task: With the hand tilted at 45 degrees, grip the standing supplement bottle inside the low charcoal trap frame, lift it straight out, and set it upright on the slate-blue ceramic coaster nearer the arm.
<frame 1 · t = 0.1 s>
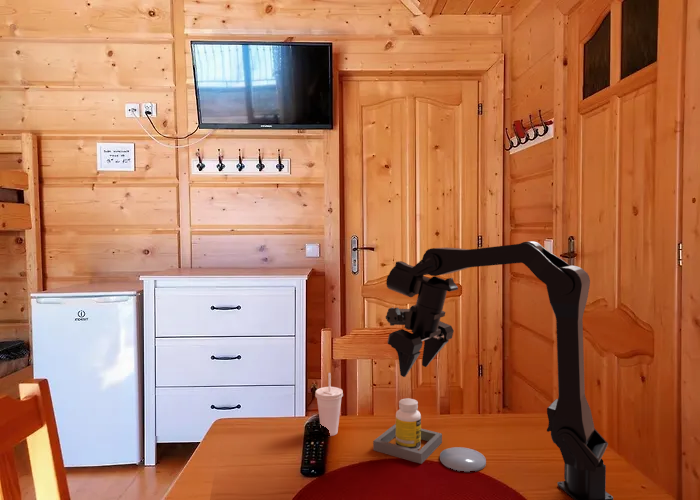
hand: (413, 370, 102), 15 cm above the table, tool pointing down, fingers open, 9 cm apart
smoothie: (329, 433, 106), on the table
trap frame: (408, 446, 99), on the table
coaster: (462, 460, 93), on the table
supplement bottle: (408, 447, 99), resting in trap frame
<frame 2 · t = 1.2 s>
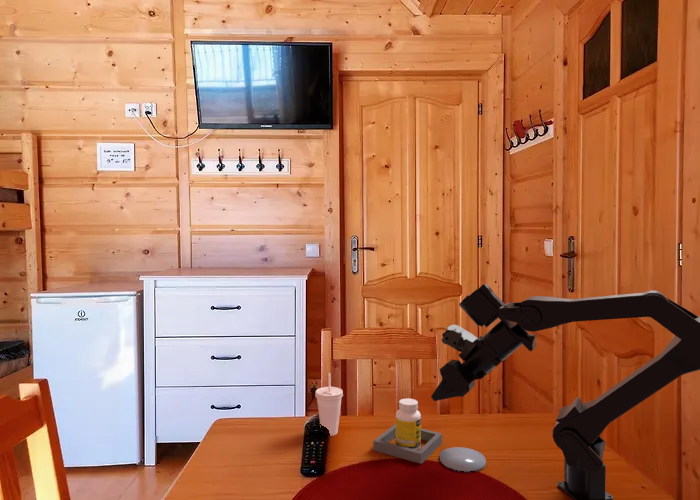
hand: (441, 391, 95), 13 cm above the table, tool tilted 45°, fingers open, 9 cm apart
nothing on the table moved.
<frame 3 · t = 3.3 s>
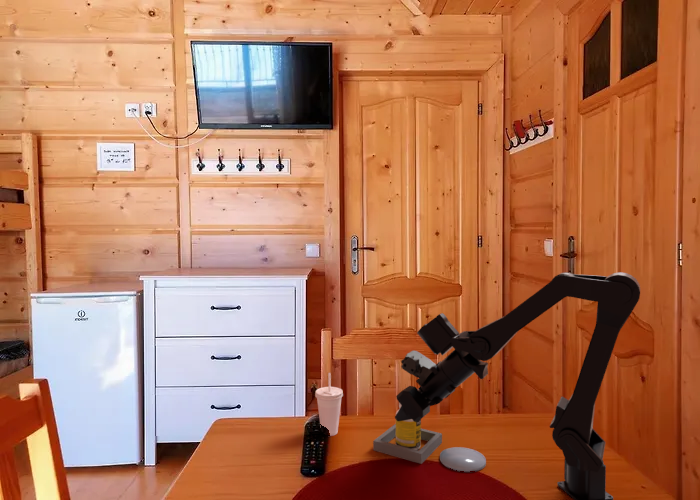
hand: (402, 414, 100), 7 cm above the table, tool tilted 45°, fingers closed on supplement bottle, 5 cm apart
supplement bottle: (408, 447, 99), resting in trap frame, touching gripper
everything else where it was.
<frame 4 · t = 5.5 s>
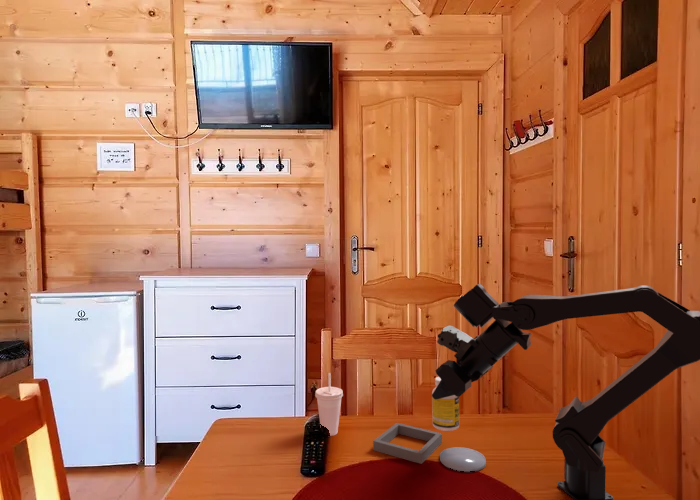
hand: (438, 393, 95), 13 cm above the table, tool tilted 45°, fingers closed on supplement bottle, 5 cm apart
supplement bottle: (446, 427, 94), point 6 cm above the table, touching gripper
everything else where it was.
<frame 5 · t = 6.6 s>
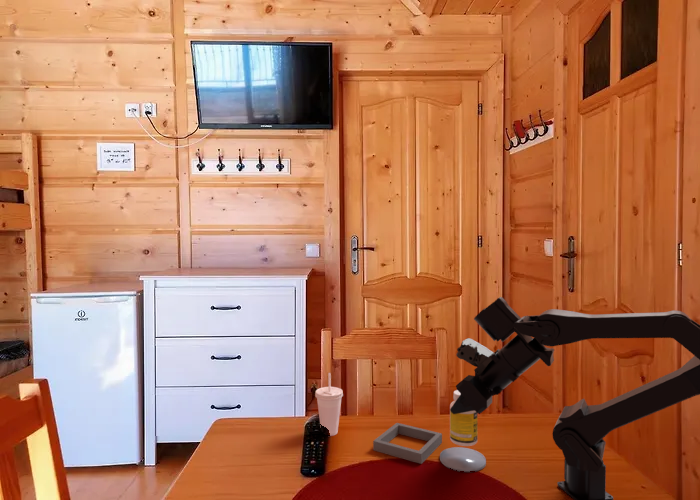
hand: (456, 407, 93), 11 cm above the table, tool tilted 45°, fingers closed on supplement bottle, 5 cm apart
supplement bottle: (463, 441, 92), point 4 cm above the table, touching gripper
everything else where it was.
when the fingers open (8 cm above the table, at t = 7.6 s): supplement bottle stays where it is, resting on coaster.
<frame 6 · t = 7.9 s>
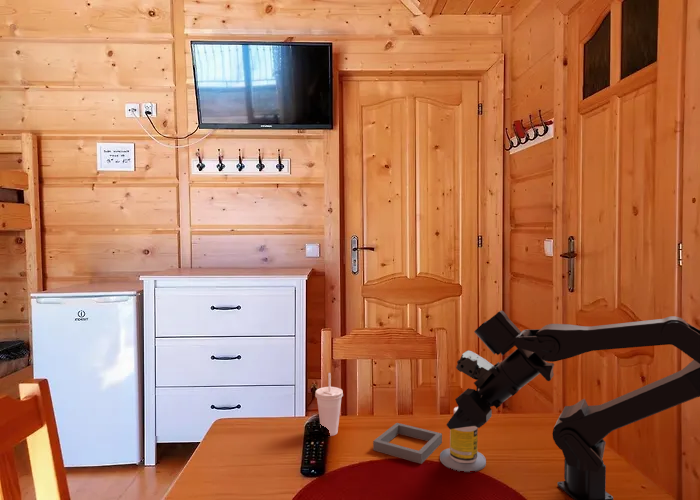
hand: (456, 419, 93), 8 cm above the table, tool tilted 45°, fingers open, 8 cm apart
supplement bottle: (463, 458, 93), resting on coaster
everything else where it was.
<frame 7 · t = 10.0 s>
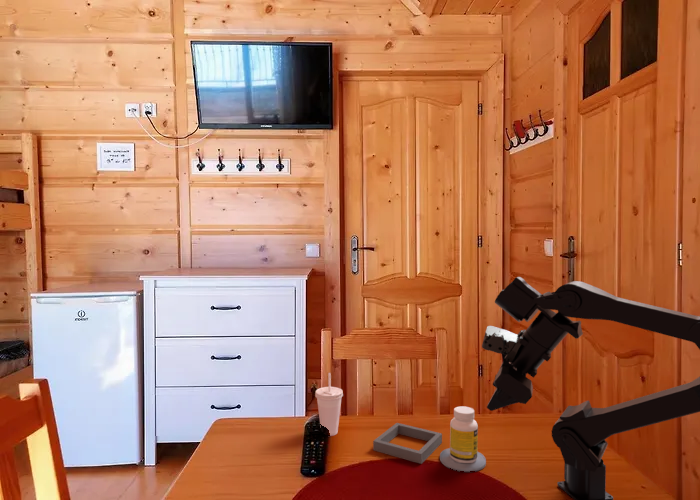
hand: (491, 396, 91), 14 cm above the table, tool tilted 35°, fingers open, 9 cm apart
nothing on the table moved.
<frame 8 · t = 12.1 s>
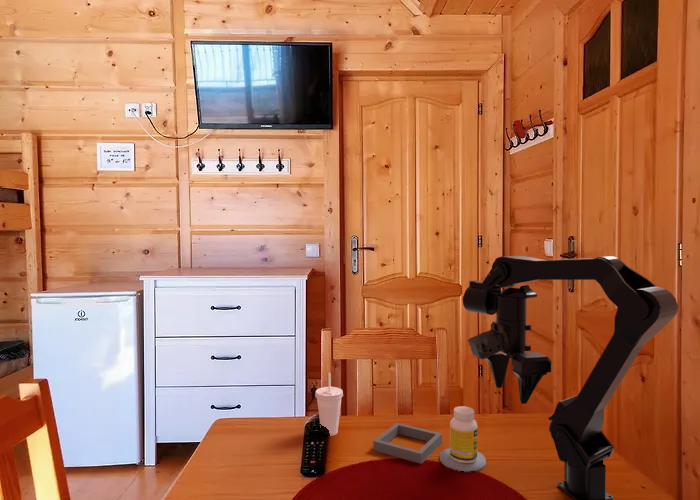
hand: (510, 395, 93), 13 cm above the table, tool pointing down, fingers open, 9 cm apart
nothing on the table moved.
at the end: supplement bottle 0.2 cm off-centre on the coaster, point 0.4 cm above the coaster's base; supplement bottle tilted 0°; the gripper is holding nothing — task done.
